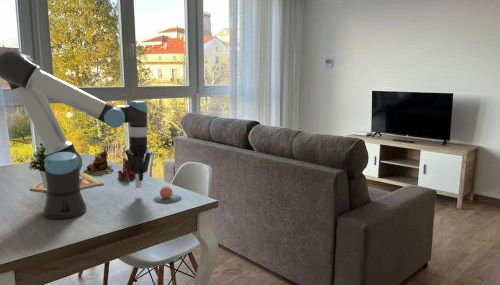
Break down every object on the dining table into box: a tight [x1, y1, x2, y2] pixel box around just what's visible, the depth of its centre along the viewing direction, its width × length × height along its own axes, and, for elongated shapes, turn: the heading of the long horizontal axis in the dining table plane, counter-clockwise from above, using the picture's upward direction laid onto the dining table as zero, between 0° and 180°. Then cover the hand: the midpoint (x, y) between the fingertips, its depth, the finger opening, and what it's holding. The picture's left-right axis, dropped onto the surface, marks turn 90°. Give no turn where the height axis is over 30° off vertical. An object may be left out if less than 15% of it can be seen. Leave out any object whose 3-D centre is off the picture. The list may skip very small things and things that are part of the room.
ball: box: [159, 185, 173, 199], centre depth 167 cm, size 6×6×6 cm
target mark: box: [153, 193, 182, 204], centre depth 167 cm, size 12×12×1 cm
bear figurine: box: [83, 150, 114, 176], centre depth 210 cm, size 14×15×12 cm
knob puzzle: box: [30, 171, 105, 193], centre depth 186 cm, size 29×30×4 cm
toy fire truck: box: [117, 157, 134, 182], centre depth 197 cm, size 7×12×10 cm, turn 27°
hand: (138, 187), depth 171 cm, fingers closed
